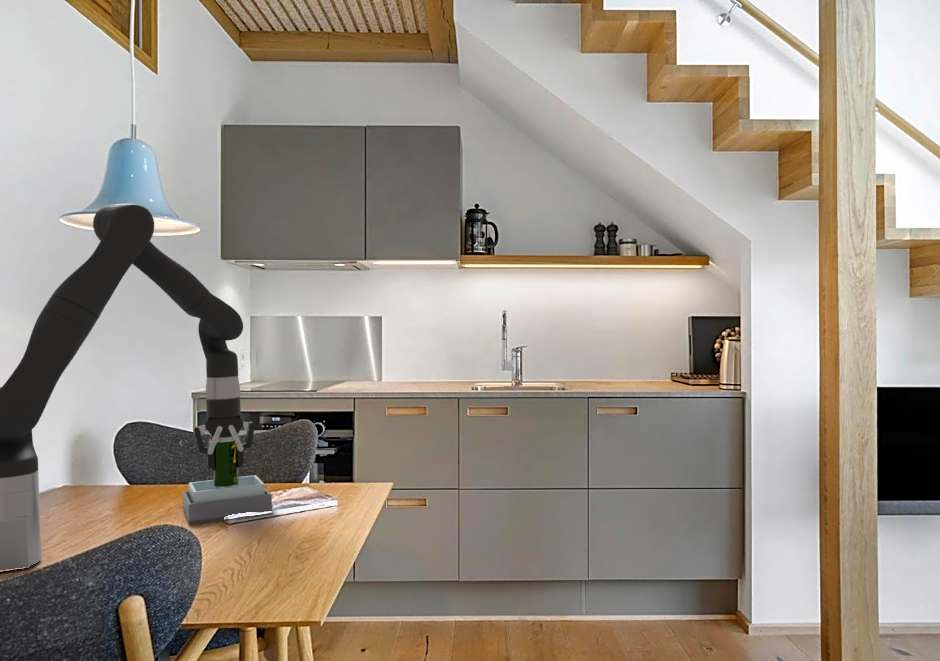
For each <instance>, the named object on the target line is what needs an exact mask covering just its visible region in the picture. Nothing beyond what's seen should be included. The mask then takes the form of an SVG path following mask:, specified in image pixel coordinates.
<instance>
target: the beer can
mask: <svg viewBox="0 0 940 661" xmlns="http://www.w3.org/2000/svg"><path fill="white" fill-rule="evenodd" d="M215 440H216V439H215ZM213 454H214V467H215V470H213V480H214V486H215V488H216V489H221V488H230V487H237V485H238V477H239V468H238V461H237V446H236V443H235V440H234V439H233V436H228V437H219V438H218V441H217V444H216V445H215V448H214V451H213Z"/></svg>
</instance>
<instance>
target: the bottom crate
mask: <svg viewBox="0 0 940 661" xmlns="http://www.w3.org/2000/svg"><path fill="white" fill-rule="evenodd" d="M272 497H273V495H272V493H271V492H270V491H269V490H268V488H266V487H265V495H257V496H249V497H241V498H233V499H225V500H217V501H209V502H201V503H193V504H191V503H190V500H189V490H187V491H182V507H183V508H182V509H183V514H184V516H185V518H186V521H187V524H188V525H189V526H193V525H199V524H205V523H206V524H207V523H213V522H219V521H220V522H221V521H225V520H224V517H225V516H228V515H232V514H238V513H246V512H264V511H272V512H273V500H272V499H273V498H272Z"/></svg>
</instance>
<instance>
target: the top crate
mask: <svg viewBox="0 0 940 661" xmlns="http://www.w3.org/2000/svg"><path fill="white" fill-rule="evenodd" d="M265 488H266V487H265V483H264V482H263V481H262V479H260V478H259V477H258V476H257V475H256V474H254V475H245V476H238V485H237V487H230V488H221V489H216V488H215V486H214V479H210V480H209V479H208V480H200V481H191V482H188V491H189V500H190V503H191V504H193V503H201V502H209V501H217V500H225V499H233V498H241V497H249V496H257V495H265Z"/></svg>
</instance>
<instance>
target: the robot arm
mask: <svg viewBox="0 0 940 661" xmlns="http://www.w3.org/2000/svg"><path fill="white" fill-rule="evenodd" d="M154 220H155V219H154V217H153V214H152V213H151V211H149V209H148V208H146V207H145V206H143V205H142V204H141V205H140V204H137V203H115V204H114V203H113V204H108V205H105V206H103V207H101V208H100V209H98V210H97V212H96V213H95V215H94V217H93V220H92V227H93V228H92V229H93V232H94V234H95V236H96V237H97V238H98V240H99V241H100V242H99V243H98V245H97V247H96V248H95V250H94V251H93V253H92V254H91V255H90V257H89V258H88V259H87V260H86V261H84V263H82V264H81V265H80V266H79V267H78V268H76V269H75V271H73V272H72V273H71V274H70V275H69V276H68V277H67V278H65V279H64V280H63V281H62V283H60V284H59V285H58V287H57V288H56V289H55V290H54V291H53V293H52V295H51V296H50V298H49V299H48V301H47V303H46V304H45V305H44V307H43V309H42V310H41V312H40V313H39V316H38V317H37V319H36V321H35V323H34V325H33V327H32V330H31V334H30V337H29V340H28V342H27V345H26V350H25V352H24V354H23V357H22V358H21V360H20V361H19V364H18V365H17V366H16V368H15V369H14V370H13V372H12V373H11V375H10V376H9V377H8V379H7V380H6V381H5V383H4V384H3V385H2V386H0V570H6V569H15V568H23V567H26V568H28V567H30V566H31V565H33V564H36V563H38V562H39V561H40V562H42V560H41V559H43V558H42V538H41V537H42V536H41V535H42V534H41V512H40V511H41V510H40V488H39V487H40V481H39V479H40V478H39V459H38V455H37V453H36V449H35V446H34V441H33V439H34V438H33V429H34V428H35V427H36V425H37V424H39V421H40V419H41V417H42V416H43V413H44V411H45V408H46V407H47V405H48V403H49V400H50V398H51V395H52V394H53V391H54V389H55V387H56V386H57V384H58V382H59V380H60V378H61V377H62V375H63V373H64V372H65V370H66V369H67V368H68V366H69V365H70V363H71V362H72V360H73V359H74V358H75V356H76V355H77V353H78V351H79V350H80V348H81V347H82V345H83V343H84V342H85V341H86V339H87V337H88V336H89V335H90V333H91V332H92V329H93V328H94V327H95V324H96V323H97V321H98V320H99V318H100V317H101V315H102V313H103V311H104V309H105V307H106V306H107V304H108V302H109V301H110V299H111V298H112V297H113V294H114V292H115V291H116V289H117V288H118V285H119V284H120V283H121V280H122V279H123V277H125V275H126V273H127V272H128V270H129V269H130V267H131V266H132V265H133V266H134V267H136V269H138V270H139V271H141V273H143V274H144V275H145V276H147V277H148V278H149V279H150V280H151V281H152V282H153V283H154V284H156V285H157V286H158V287H159V288H160V289H161V290H162V291H163V292H164V293H165V294H166V295H167V296H168V297H169V298H170V299H171V300H172V301H173V302H174V303H175V304H176V305H177V306H178V307H180V309H181V310H182V311H183V312H185V313H186V315H188V316H190V317H193V318H196V319H197V318H198V319H199V322H198V328H197V329H198V330H197V332H198V336H199V340H200V344H201V347H202V352H203V354H204V356H205V365H206V366H205V369H206V373H205V374H206V384H205V399H206V400H205V401H206V421H205V423H204V424H202V425H199V426H197V425H196V426H193V427H192V430H193V436H194V439H195V443H196V446H197V450H198V452H200V454H201V453H202V454H206V466H207V468H208V469H210V471H213V472H214V470H215V467H214V454H213V451H214V448H215V445H216V444H217V441H218V438H219V437H228V436H233V439H234V440H235V443H236V446H237V461H238V469H240V468H242V466H243V465H244V463H245V460H244V459H245V458H244V452H245V450H247V449H250V448H251V447H252V443H253V439H254V432H255V427H256V424H255V423H254V422H252V421H244V420H243V419H242V413H241V388H240V387H241V386H240V380H239V379H240V378H239V362H238V361H239V360H238V355H237V353H236V352H235V351H232V350H230V349H229V348H228V345H227V341H233V340H236V339H237V338H239V337H240V336H241V335H242V333H243V331H244V322H243V319H242V316H240V314H239V313H238V312H237V310H235V308H233V307H232V306H231V305H229V303H228V304H227V303H226V302H225V301H223V300H222V299H221V298H219V297H218V296H216V295H214V294H212V292H210V290H209V289H208V288H207V287H206V286H205V285H204V283H202V282H201V281H200V279H198V278H197V277H196V276H195V275H194V274H193V273H192V272H191V271H189V270H188V269H187V268H185V266H183V265H182V264H180V263H178V262H177V261H175V260H174V259H172V258H171V257H170V256H168V255H167V254H165V253H164V252H162V251H161V250H160V249H159V248H158V247H157V246H155V245H154V243H153V242H151V239H152V237H153V235H154V231H155V221H154ZM242 427H244V431H245V432H246V434H245V439H244V442H243V443H242V441H241V440H240V437H239V435H238V433H239V432H240V431H241V429H242ZM205 430H207V432H208V433H209V434H210V437H209V438H210V439H209V441H208V444H207V446H205V445H204V442H203V438H202V437H203V436H204V434H205ZM215 439H216V440H215ZM40 562H39V563H40ZM39 563H38V564H39ZM36 565H37V564H36ZM33 566H34V565H33ZM31 567H32V566H31Z"/></svg>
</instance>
